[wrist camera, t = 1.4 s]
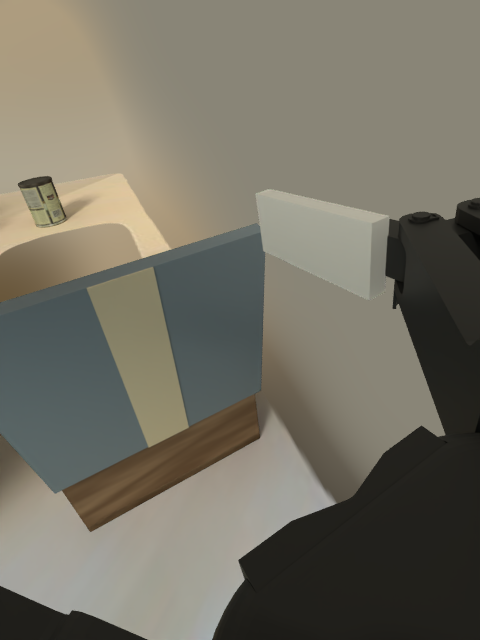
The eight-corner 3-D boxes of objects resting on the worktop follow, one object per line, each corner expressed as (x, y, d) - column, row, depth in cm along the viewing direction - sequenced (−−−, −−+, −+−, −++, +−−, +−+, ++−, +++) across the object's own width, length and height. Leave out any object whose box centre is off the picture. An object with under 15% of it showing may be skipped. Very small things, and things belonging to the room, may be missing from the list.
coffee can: (44, 218, 132) (27, 178, 124) (72, 216, 131) (56, 174, 123) (30, 229, 123) (11, 186, 115) (59, 226, 122) (41, 182, 114)
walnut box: (259, 437, 44) (253, 383, 38) (90, 532, 36) (54, 480, 31) (198, 358, 57) (187, 310, 52) (66, 415, 50) (38, 366, 45)
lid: (254, 382, 39) (261, 391, 38) (52, 481, 31) (55, 494, 30) (256, 223, 26) (266, 231, 25) (-81, 327, 19) (-83, 343, 18)
